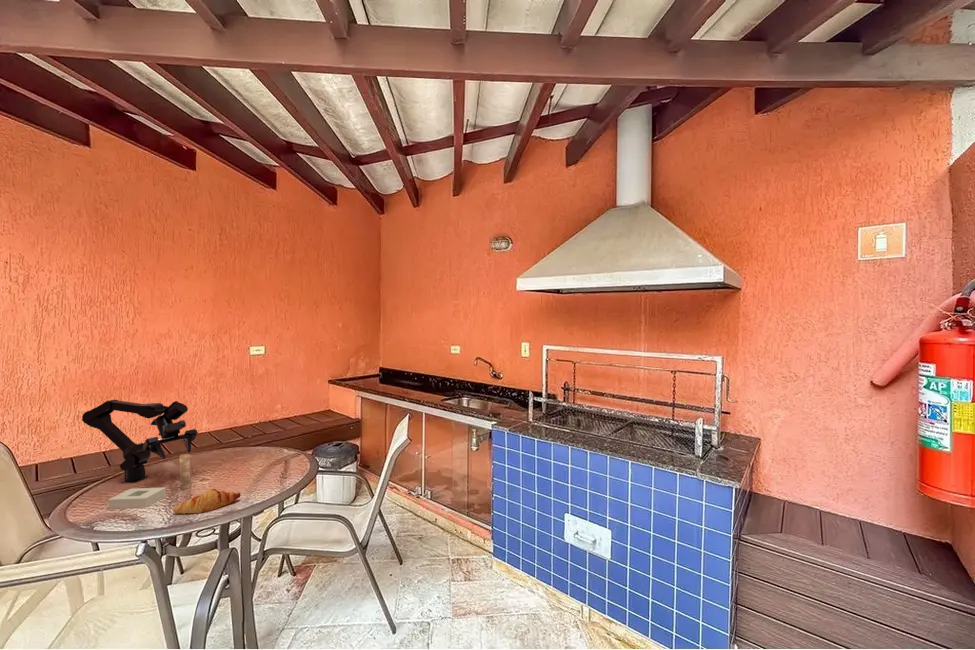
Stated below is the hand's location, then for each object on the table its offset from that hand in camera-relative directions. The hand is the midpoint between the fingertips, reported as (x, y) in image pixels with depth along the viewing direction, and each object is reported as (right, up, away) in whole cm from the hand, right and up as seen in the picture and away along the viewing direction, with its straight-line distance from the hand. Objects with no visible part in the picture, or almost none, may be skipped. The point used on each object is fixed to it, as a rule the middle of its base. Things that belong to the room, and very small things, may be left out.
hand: (177, 455), depth 174 cm
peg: (+6, -13, -4) cm, 15 cm away
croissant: (+29, -13, -22) cm, 39 cm away
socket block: (-2, -13, -17) cm, 22 cm away
